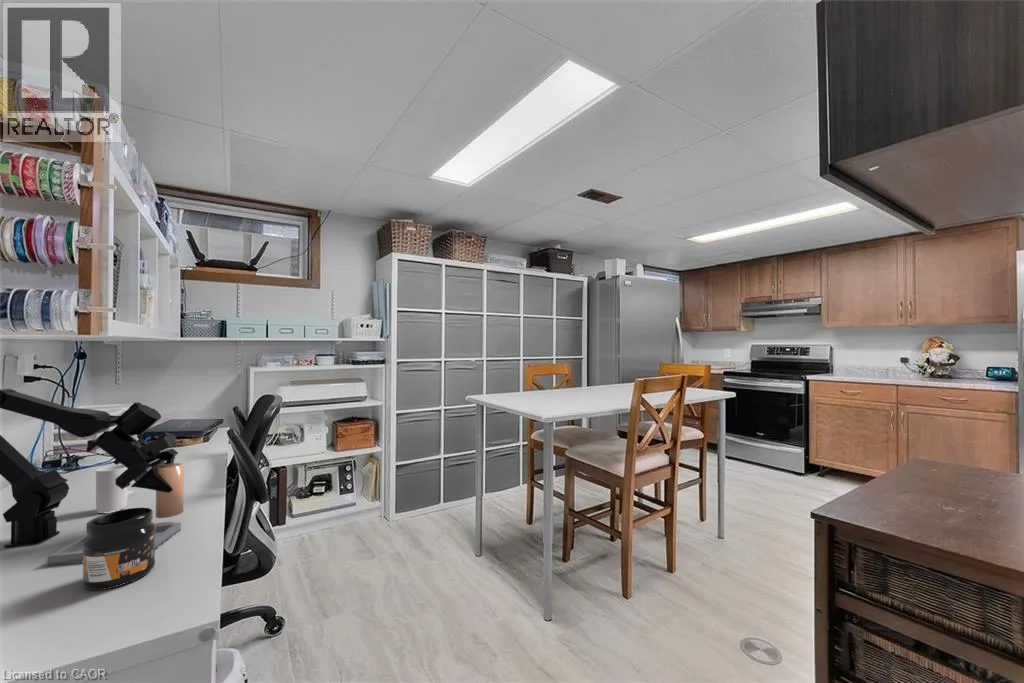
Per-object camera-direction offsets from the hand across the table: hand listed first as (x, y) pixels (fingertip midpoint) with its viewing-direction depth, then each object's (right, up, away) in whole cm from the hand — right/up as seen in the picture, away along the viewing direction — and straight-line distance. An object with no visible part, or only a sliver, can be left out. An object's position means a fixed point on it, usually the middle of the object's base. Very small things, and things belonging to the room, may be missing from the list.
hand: (176, 487), depth 108 cm
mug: (-26, -10, +12) cm, 30 cm away
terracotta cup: (-1, -7, -1) cm, 7 cm away
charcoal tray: (-2, -9, -13) cm, 16 cm away
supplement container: (+11, -8, -27) cm, 30 cm away
